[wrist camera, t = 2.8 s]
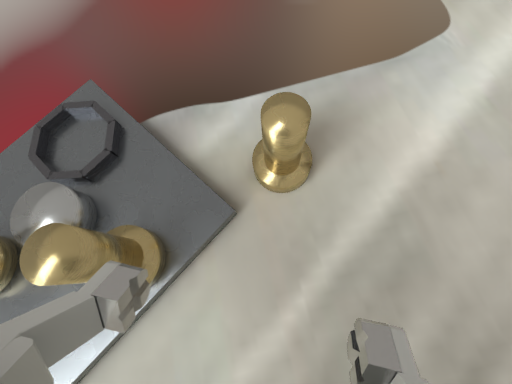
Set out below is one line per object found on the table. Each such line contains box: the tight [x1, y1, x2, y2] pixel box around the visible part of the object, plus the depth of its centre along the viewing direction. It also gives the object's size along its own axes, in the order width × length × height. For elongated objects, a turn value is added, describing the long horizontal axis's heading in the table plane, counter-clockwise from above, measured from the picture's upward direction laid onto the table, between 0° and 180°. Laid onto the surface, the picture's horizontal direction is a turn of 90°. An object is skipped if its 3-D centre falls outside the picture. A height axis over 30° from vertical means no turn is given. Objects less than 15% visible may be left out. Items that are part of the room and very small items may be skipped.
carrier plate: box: [0, 79, 237, 384], centre depth 23 cm, size 24×24×12 cm
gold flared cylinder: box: [252, 92, 312, 193], centre depth 24 cm, size 6×6×10 cm
